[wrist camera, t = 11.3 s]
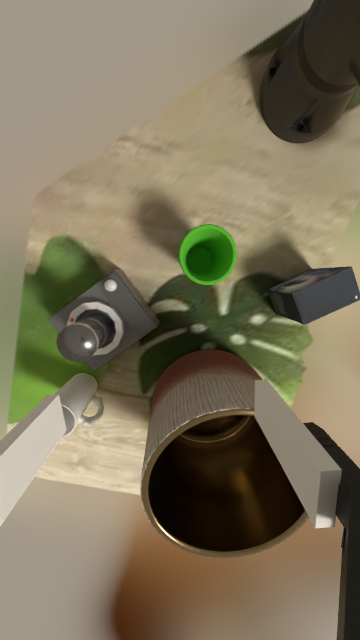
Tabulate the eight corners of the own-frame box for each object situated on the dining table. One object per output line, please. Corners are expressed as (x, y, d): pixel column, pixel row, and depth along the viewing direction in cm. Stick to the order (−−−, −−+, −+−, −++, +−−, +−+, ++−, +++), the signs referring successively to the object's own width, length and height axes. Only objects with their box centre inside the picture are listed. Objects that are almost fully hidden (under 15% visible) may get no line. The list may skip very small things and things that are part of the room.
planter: (257, 441, 53) (315, 555, 32) (155, 446, 52) (144, 566, 31) (263, 344, 48) (338, 402, 26) (150, 348, 47) (131, 411, 25)
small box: (312, 266, 45) (353, 263, 34) (321, 294, 46) (364, 300, 36) (265, 288, 45) (292, 292, 35) (275, 315, 46) (305, 327, 36)
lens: (81, 314, 40) (53, 326, 30) (111, 311, 40) (93, 323, 30) (85, 343, 41) (60, 363, 31) (115, 340, 41) (99, 360, 31)
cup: (169, 269, 44) (168, 267, 33) (190, 227, 42) (197, 211, 31) (207, 290, 45) (218, 295, 34) (229, 251, 43) (248, 243, 32)
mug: (65, 392, 48) (30, 430, 37) (73, 367, 47) (41, 397, 36) (107, 407, 50) (87, 448, 38) (116, 382, 48) (99, 417, 37)
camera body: (121, 269, 43) (111, 268, 36) (159, 320, 46) (157, 329, 39) (61, 314, 45) (40, 322, 38) (101, 361, 47) (89, 377, 40)
